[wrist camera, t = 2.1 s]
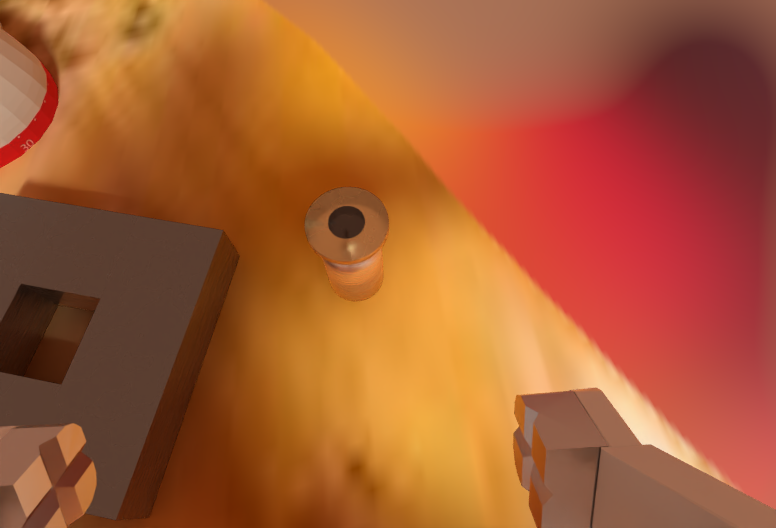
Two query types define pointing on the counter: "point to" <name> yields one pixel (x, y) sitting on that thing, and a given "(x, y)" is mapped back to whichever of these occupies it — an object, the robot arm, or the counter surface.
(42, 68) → the kitchen timer
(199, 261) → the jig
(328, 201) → the bushing
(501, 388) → the counter surface
